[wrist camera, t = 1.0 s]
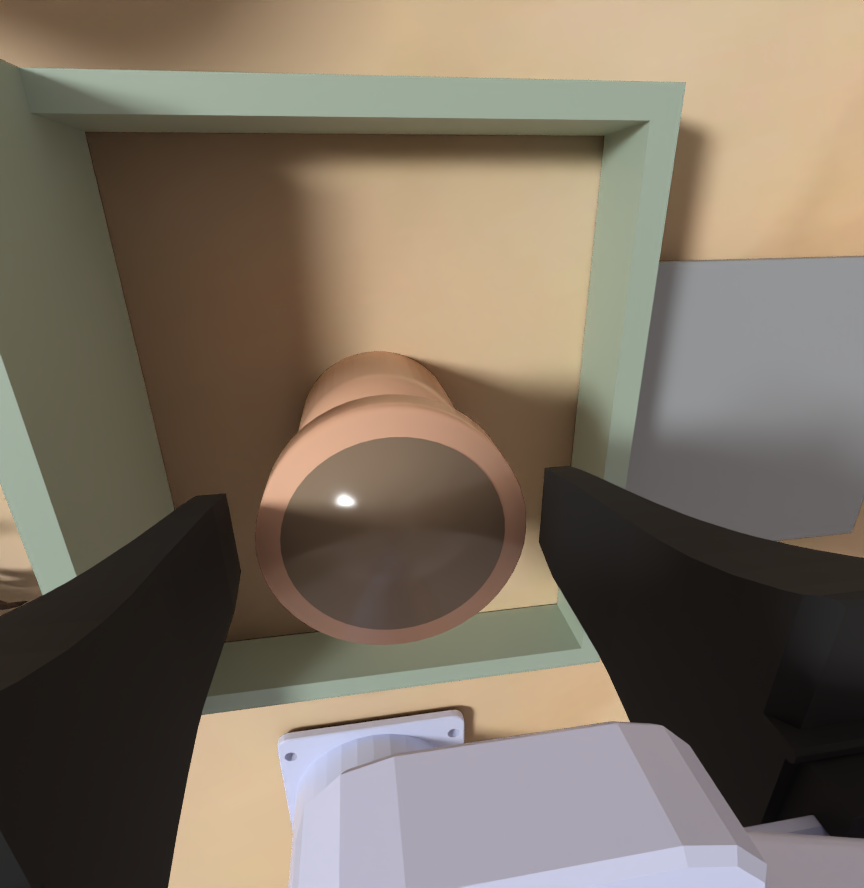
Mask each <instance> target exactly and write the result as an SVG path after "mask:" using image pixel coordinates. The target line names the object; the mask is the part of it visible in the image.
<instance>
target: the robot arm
mask: <svg viewBox="0 0 864 888" xmlns="http://www.w3.org/2000/svg"><path fill="white" fill-rule="evenodd" d="M539 543H540V546H541V549H542V551H543V554H544V556H545V559H546V562H547V564H548V566H549V569H550V571H551V573H552V576H553V578H554V580H555V581H556V583H557V585H558V587H559V588H560V590H561V592H562V594H563V595H564V597H565V599H566V600H567V602H568V604H569V606H570V607H571V609H572V611H573V612H574V614H575V616H576V617H577V619H578V621H579V622H580V624H581V626H582V627H583V629H584V631H585V633H586V634H587V636H588V638H589V639H590V641H591V643H592V644H593V646H594V648H595V649H596V651H597V653H598V655H599V656H600V658H601V660H602V662H603V664H604V666H605V668H606V670H607V672H608V674H609V676H610V678H611V680H612V682H613V685H614V687H615V689H616V691H617V693H618V696H619V698H620V700H621V702H622V704H623V707H624V709H625V711H626V713H627V716H628V718H629V720H630V722H612V721H611V722H604V723H597V724H591V725H584V726H577V727H571V728H564V729H557V730H551V731H544V732H537V733H531V734H524V735H517V736H510V737H504V738H497V739H490V740H484V741H477V742H470V743H464V718H463V714H462V713H461V712H460V711H458V710H447V711H440V712H433V713H426V714H419V715H412V716H405V717H398V718H391V719H383V720H376V721H369V722H362V723H355V724H348V725H341V726H334V727H327V728H320V729H312V730H305V731H298V732H291V733H287V734H284V735H283V736H281V737H280V738H279V741H278V749H277V750H278V755H279V760H280V766H281V771H282V776H283V782H284V787H285V792H286V798H287V803H288V808H289V814H290V819H291V824H292V830H293V839H292V851H291V862H290V874H289V886H288V888H864V558H860V557H853V556H848V555H842V554H836V553H830V552H824V551H818V550H813V549H808V548H803V547H798V546H793V545H789V544H784V543H780V542H776V541H772V540H768V539H764V538H759V537H755V536H751V535H748V534H744V533H740V532H737V531H733V530H730V529H727V528H724V527H721V526H717V525H714V524H711V523H708V522H705V521H702V520H699V519H696V518H693V517H690V516H688V515H685V514H682V513H680V512H677V511H675V510H672V509H670V508H667V507H665V506H662V505H660V504H657V503H655V502H653V501H650V500H648V499H646V498H643V497H641V496H639V495H636V494H634V493H632V492H630V491H628V490H625V489H623V488H621V487H619V486H617V485H615V484H612V483H610V482H608V481H606V480H604V479H601V478H599V477H597V476H595V475H592V474H590V473H588V472H585V471H583V470H580V469H578V468H575V467H571V466H565V467H552V468H545V474H544V486H543V498H542V510H541V523H540V535H539ZM240 574H241V570H240V564H239V559H238V554H237V549H236V544H235V538H234V533H233V528H232V523H231V518H230V512H229V507H228V502H227V497H226V494H215V495H203V496H196V497H194V498H192V499H190V500H189V501H187V502H186V503H184V504H183V505H181V506H180V507H178V508H177V509H176V510H174V511H173V512H171V513H170V514H169V515H167V516H166V517H165V518H163V519H162V520H160V521H159V522H158V523H156V524H155V525H153V526H152V527H151V528H149V529H148V530H146V531H145V532H144V533H142V534H141V535H140V536H138V537H137V538H135V539H134V540H132V541H131V542H130V543H128V544H127V545H125V546H123V547H122V548H120V549H119V550H117V551H116V552H114V553H113V554H111V555H110V556H108V557H107V558H105V559H104V560H102V561H101V562H99V563H98V564H96V565H95V566H93V567H92V568H90V569H88V570H87V571H85V572H83V573H82V574H80V575H78V576H77V577H75V578H73V579H71V580H70V581H68V582H66V583H65V584H63V585H61V586H59V587H57V588H55V589H53V590H52V591H50V592H48V593H46V594H44V595H42V596H41V597H39V598H37V599H35V600H33V601H31V602H29V603H27V604H25V605H23V606H21V607H19V608H16V609H14V610H12V611H10V612H8V613H6V614H4V615H1V616H0V888H168V883H169V877H170V871H171V865H172V859H173V853H174V847H175V842H176V836H177V830H178V825H179V819H180V814H181V809H182V804H183V798H184V793H185V788H186V783H187V777H188V772H189V768H190V763H191V758H192V753H193V749H194V744H195V739H196V734H197V730H198V725H199V722H200V718H201V715H202V711H203V707H204V704H205V701H206V698H207V695H208V692H209V688H210V685H211V682H212V679H213V676H214V673H215V670H216V667H217V664H218V661H219V658H220V655H221V652H222V649H223V646H224V642H225V639H226V636H227V633H228V630H229V627H230V624H231V620H232V617H233V614H234V610H235V604H236V599H237V593H238V587H239V581H240Z"/></svg>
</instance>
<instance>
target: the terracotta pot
mask: <svg viewBox="0 0 864 888" xmlns="http://www.w3.org/2000/svg"><path fill="white" fill-rule="evenodd" d="M525 533H526V510H525V503H524V498H523V495H522V492H521V489H520V485H519V483H518V481H517V479H516V477H515V475H514V473H513V471H512V469H511V468H510V466H509V465H508V463H507V462H506V460H505V459H504V457H503V456H502V454H501V453H500V451H499V450H498V448H497V447H496V445H495V444H494V443H493V441H492V440H491V438H490V437H489V436H488V435H487V434H486V433H485V432H484V430H483V429H482V428H481V427H480V426H479V425H478V424H476V423H475V422H474V421H473V420H471V419H470V418H469V417H467V416H466V415H464V414H463V413H461V412H459V411H458V410H456V409H455V408H454V407H453V405H452V403H451V401H450V400H449V398H448V396H447V394H446V393H445V391H444V389H443V387H442V386H441V384H440V383H439V381H438V380H437V379H436V377H435V376H434V375H433V374H432V373H431V372H430V371H429V370H427V369H426V368H425V367H424V366H422V365H421V364H419V363H418V362H416V361H414V360H412V359H410V358H408V357H405V356H403V355H399V354H396V353H390V352H375V351H374V352H365V353H360V354H356V355H353V356H350V357H348V358H345V359H343V360H341V361H339V362H337V363H336V364H334V365H333V366H331V367H330V368H329V369H327V370H326V371H325V372H324V373H323V374H322V375H321V376H320V377H319V378H318V380H317V381H316V382H315V383H314V385H313V387H312V388H311V390H310V392H309V394H308V396H307V399H306V401H305V405H304V409H303V413H302V417H301V422H300V426H299V430H298V433H297V434H296V435H294V436H293V437H292V439H291V440H290V441H289V442H288V444H287V445H286V446H285V447H284V449H283V450H282V451H281V453H280V455H279V457H278V458H277V460H276V462H275V463H274V465H273V468H272V470H271V473H270V476H269V478H268V481H267V484H266V488H265V491H264V494H263V497H262V501H261V504H260V507H259V512H258V516H257V520H256V532H255V542H256V553H257V557H258V561H259V565H260V569H261V571H262V573H263V576H264V578H265V580H266V583H267V584H268V586H269V587H270V589H271V591H272V592H273V594H274V595H275V596H276V598H277V599H278V600H279V601H280V602H281V604H282V605H283V606H284V607H285V608H286V609H287V610H288V611H289V612H291V613H292V614H293V615H294V616H295V617H296V618H298V619H299V620H301V621H302V622H304V623H305V624H307V625H308V626H310V627H312V628H314V629H316V630H318V631H320V632H322V633H324V634H326V635H329V636H332V637H335V638H337V639H341V640H345V641H349V642H354V643H361V644H368V645H393V644H404V643H409V642H415V641H419V640H423V639H427V638H430V637H433V636H436V635H439V634H441V633H444V632H446V631H448V630H450V629H452V628H454V627H456V626H458V625H460V624H462V623H464V622H465V621H467V620H468V619H470V618H471V617H473V616H474V615H476V614H477V613H478V612H479V611H480V610H482V609H483V608H484V607H485V606H487V605H488V604H489V603H490V602H491V601H492V600H493V598H494V597H495V596H496V595H497V594H498V593H499V592H500V590H501V589H502V588H503V587H504V585H505V584H506V583H507V581H508V579H509V578H510V576H511V574H512V573H513V571H514V569H515V567H516V565H517V562H518V560H519V558H520V555H521V552H522V548H523V545H524V540H525Z"/></svg>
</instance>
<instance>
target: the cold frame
mask: <svg viewBox="0 0 864 888" xmlns="http://www.w3.org/2000/svg"><path fill="white" fill-rule="evenodd" d="M685 85H686V82H642V81H598V80H553V79H509V78H465V77H420V76H376V75H331V74H287V73H243V72H198V71H154V70H110V69H65V68H21V67H16V66H14V65H12V64H10V63H8V62H6V61H4V60H2V59H0V484H1V487H2V490H3V492H4V495H5V498H6V500H7V503H8V505H9V508H10V511H11V513H12V516H13V519H14V521H15V524H16V527H17V529H18V532H19V534H20V537H21V540H22V542H23V545H24V548H25V550H26V553H27V555H28V558H29V561H30V563H31V566H32V569H33V571H34V574H35V577H36V579H37V582H38V584H39V587H40V590H41V592H42V595H44V594H46V593H48V592H50V591H52V590H53V589H55V588H57V587H59V586H61V585H63V584H65V583H66V582H68V581H70V580H71V579H73V578H75V577H77V576H78V575H80V574H82V573H83V572H85V571H87V570H88V569H90V568H92V567H93V566H95V565H96V564H98V563H99V562H101V561H102V560H104V559H105V558H107V557H108V556H110V555H111V554H113V553H114V552H116V551H117V550H119V549H120V548H122V547H123V546H125V545H127V544H128V543H130V542H131V541H132V540H134V539H135V538H137V537H138V536H140V535H141V534H142V533H144V532H145V531H146V530H148V529H149V528H151V527H152V526H153V525H155V524H156V523H158V522H159V521H160V520H162V519H163V518H165V517H166V516H167V515H169V514H170V513H171V512H173V511H174V510H175V509H174V505H173V501H172V496H171V492H170V488H169V484H168V480H167V475H166V471H165V467H164V463H163V459H162V454H161V450H160V446H159V442H158V438H157V433H156V429H155V425H154V421H153V417H152V412H151V408H150V404H149V400H148V396H147V391H146V387H145V383H144V379H143V375H142V370H141V366H140V362H139V358H138V354H137V349H136V345H135V341H134V337H133V333H132V328H131V324H130V320H129V316H128V311H127V307H126V303H125V299H124V295H123V290H122V286H121V282H120V278H119V274H118V269H117V265H116V261H115V257H114V253H113V248H112V244H111V240H110V236H109V232H108V227H107V223H106V219H105V215H104V211H103V206H102V202H101V198H100V194H99V190H98V185H97V181H96V177H95V173H94V169H93V164H92V160H91V156H90V152H89V148H88V143H87V139H86V135H85V132H191V133H320V134H449V135H578V136H604V145H603V155H602V165H601V175H600V185H599V195H598V205H597V214H596V224H595V234H594V244H593V254H592V264H591V274H590V284H589V294H588V303H587V313H586V323H585V333H584V343H583V353H582V363H581V373H580V382H579V392H578V402H577V412H576V422H575V432H574V442H573V452H572V461H571V467H575V468H578V469H580V470H583V471H585V472H588V473H590V474H592V475H595V476H597V477H599V478H601V479H604V480H606V481H608V482H610V483H612V484H615V485H617V486H619V487H621V488H623V489H625V487H626V480H627V474H628V467H629V460H630V454H631V447H632V440H633V434H634V427H635V420H636V413H637V407H638V400H639V393H640V387H641V380H642V373H643V367H644V360H645V353H646V346H647V340H648V333H649V326H650V320H651V313H652V306H653V300H654V293H655V286H656V279H657V273H658V266H659V259H660V253H661V246H662V239H663V233H664V226H665V219H666V212H667V206H668V199H669V192H670V186H671V179H672V172H673V166H674V159H675V152H676V145H677V139H678V132H679V125H680V119H681V112H682V105H683V99H684V92H685ZM599 661H600V656H599V655H598V653H597V651H596V649H595V648H594V646H593V644H592V643H591V641H590V639H589V638H588V636H587V634H586V633H585V631H584V629H583V627H582V626H581V624H580V622H579V621H578V619H577V617H576V616H575V614H574V612H573V611H572V609H571V607H570V606H569V604H568V602H567V600H566V599H565V597H564V595H563V594H562V592H561V590H560V588H559V590H558V600H557V604H553V605H544V606H536V607H527V608H518V609H510V610H501V611H493V612H484V613H477V614H476V615H474V616H473V617H471V618H470V619H468V620H467V621H465V622H464V623H462V624H460V625H458V626H456V627H454V628H452V629H450V630H448V631H446V632H444V633H441V634H439V635H436V636H433V637H430V638H427V639H423V640H419V641H415V642H409V643H404V644H393V645H368V644H361V643H354V642H349V641H345V640H341V639H337V638H335V637H332V636H329V635H326V634H324V633H322V632H313V633H304V634H295V635H287V636H278V637H270V638H261V639H253V640H244V641H235V642H227V643H224V646H223V649H222V652H221V655H220V658H219V661H218V664H217V667H216V670H215V673H214V676H213V679H212V682H211V685H210V688H209V692H208V695H207V698H206V701H205V704H204V707H203V711H202V715H205V714H213V713H220V712H228V711H235V710H243V709H250V708H258V707H265V706H272V705H280V704H287V703H295V702H302V701H310V700H317V699H325V698H332V697H340V696H347V695H355V694H362V693H370V692H377V691H385V690H392V689H400V688H407V687H415V686H422V685H430V684H437V683H445V682H452V681H460V680H467V679H475V678H482V677H490V676H497V675H505V674H512V673H520V672H527V671H535V670H542V669H550V668H557V667H565V666H572V665H580V664H587V663H595V662H599Z"/></svg>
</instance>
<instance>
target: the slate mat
mask: <svg viewBox="0 0 864 888" xmlns="http://www.w3.org/2000/svg"><path fill="white" fill-rule="evenodd" d="M625 490H628V491H630V492H632V493H634V494H636V495H639V496H641V497H643V498H646V499H648V500H650V501H653V502H655V503H657V504H660V505H662V506H665V507H667V508H670V509H672V510H675V511H677V512H680V513H682V514H685V515H688V516H690V517H693V518H696V519H699V520H702V521H705V522H708V523H711V524H714V525H717V526H721V527H724V528H727V529H730V530H733V531H737V532H740V533H744V534H748V535H751V536H755V537H759V538H764V539H768V540H772V541H779V540H789V539H798V538H808V537H817V536H826V535H836V534H845V533H852V530H853V528H854V525H855V522H856V519H857V516H858V513H859V511H860V508H861V505H862V502H863V499H864V256H841V257H803V258H765V259H727V260H689V261H659V266H658V273H657V279H656V286H655V293H654V300H653V306H652V313H651V320H650V326H649V333H648V340H647V346H646V353H645V360H644V367H643V373H642V380H641V387H640V393H639V400H638V407H637V413H636V420H635V427H634V434H633V440H632V447H631V454H630V460H629V467H628V474H627V480H626V487H625Z"/></svg>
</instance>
